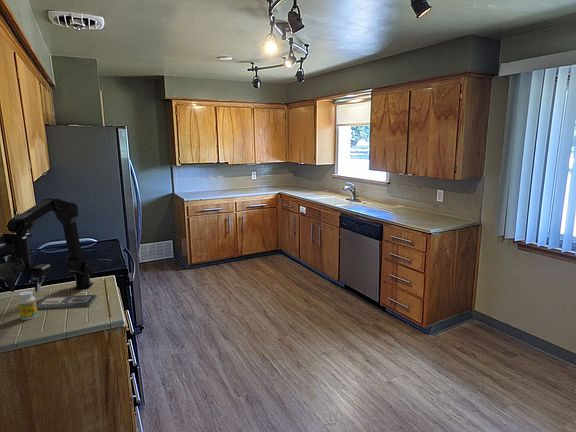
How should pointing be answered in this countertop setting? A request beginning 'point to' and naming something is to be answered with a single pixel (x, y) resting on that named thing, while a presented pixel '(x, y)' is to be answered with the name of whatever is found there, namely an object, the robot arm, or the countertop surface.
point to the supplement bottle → (27, 305)
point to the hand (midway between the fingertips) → (25, 291)
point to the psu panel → (66, 302)
